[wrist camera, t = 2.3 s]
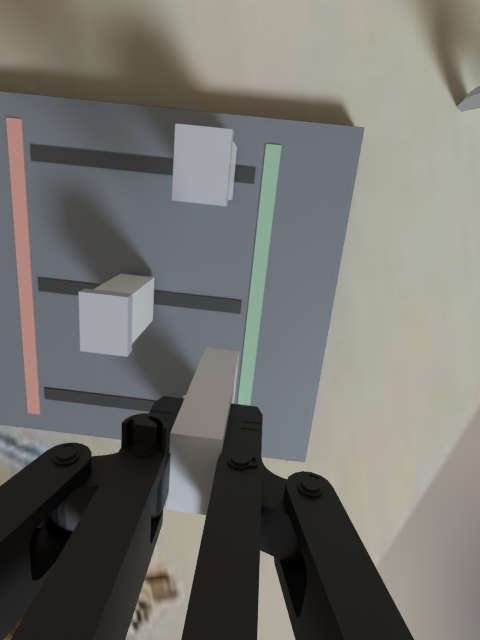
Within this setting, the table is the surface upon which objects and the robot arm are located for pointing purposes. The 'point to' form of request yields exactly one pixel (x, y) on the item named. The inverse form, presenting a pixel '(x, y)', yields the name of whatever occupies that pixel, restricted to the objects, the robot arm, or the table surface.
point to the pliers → (470, 100)
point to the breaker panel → (166, 262)
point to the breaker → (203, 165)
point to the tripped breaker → (115, 314)
